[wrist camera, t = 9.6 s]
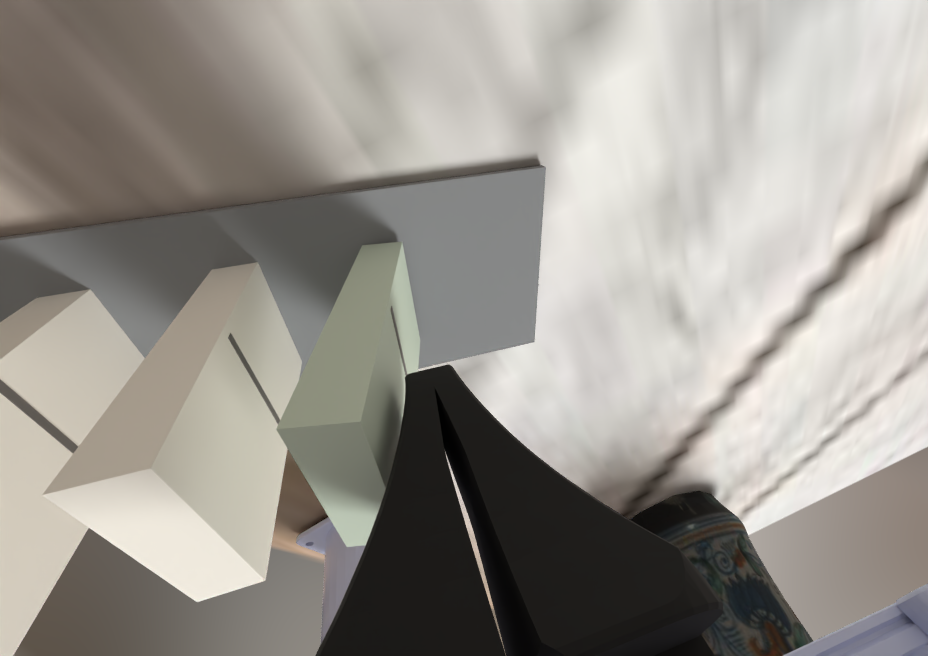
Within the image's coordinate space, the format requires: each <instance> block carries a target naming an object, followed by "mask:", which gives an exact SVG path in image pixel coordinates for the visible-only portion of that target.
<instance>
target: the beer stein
mask: <svg viewBox="0 0 928 656" xmlns="http://www.w3.org/2000/svg"><path fill="white" fill-rule="evenodd" d="M631 521H633V522H634V523H636V524H638V525H639V526H641V527H643V528H645V529H646V530H648V531H650V532H652V533H653V534H655V535H657V536H659V537H661V538H662V539H664V540H666V541H668V542H670V543H671V544H673V545H675V546H677V547H678V548H679V549H680V550H681V551H682V552H683V553H684V555H685V556H686V557H687V558H688V559H689V560H690V561H691V563H692V564H693V565H694V566H695V567H696V568H697V569H698V571H699V572H700V573H701V574H702V575H703V577H704V578H705V579H706V580H707V582H708V583H709V584H710V586H711V587H712V589H713V590H714V591H715V593H716V594H717V595H718V597H719V598H720V599H721V601H722V602H723V614H722V615H721V616H720V617H719V618H718V619H717V620H716V621H715V622H714V623H713V624H712V625H711V626H710V627H709V628H707V629H706V630H705V631H704V632H703V633H702V634H701V635H702V636H703V638H704V639H705V641H706V642H707V644H708V646H709V647H710V649H711V650H712V652H713V653H714V656H783V655H785V654H787V653H790V652H792V651H794V650H796V649H798V648H800V647H802V646H804V645H807V644H809V643H811V642H813V640H812V638H811V637H810V636H809V634H808V632H807V631H806V630H805V628H804V627H803V625H802V624H801V622H800V621H799V620H798V618H797V617H796V615H795V614H794V612H793V611H792V609H791V608H790V607H789V605H788V603H787V602H786V601H785V599H784V598H783V596H782V594H781V592H780V591H779V589H778V588H777V586H776V584H775V583H774V582H773V580H772V578H771V576H770V575H769V573H768V572H767V570H766V568H765V566H764V564H763V563H762V561H761V559H760V558H759V556H758V554H757V553H756V551H755V549H754V547H753V545H752V543H751V541H750V539H749V537H748V534H747V532H746V529H745V527H744V525H743V523H742V522H741V521H740V520H739V518H738V517H737V516H735V515H734V514H733V513H732V512H730V511H729V510H728V509H727V508H725V507H724V506H723V505H722V504H721V503H720V502H719V501H718V500H717V499H715V498H714V497H713V496H712V495H711V494H708V493H704V492H701V491H696V492H691V493H685V494H680V495H675V496H672V497H670V498H668V499H666V500H664V501H662V502H660V503H658V504H656V505H654V506H652V507H650V508H648V509H646V510H644V511H642V512H640V513H639V514H638V515H636V516H635V517H634V518H632V519H631Z"/></svg>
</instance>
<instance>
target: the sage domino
mask: <svg viewBox="0 0 928 656" xmlns="http://www.w3.org/2000/svg"><path fill="white" fill-rule="evenodd" d="M419 351H420V336H419V331H418V325H417V320H416V314H415V309H414V303H413V298H412V292H411V287H410V281H409V276H408V270H407V265H406V259H405V254H404V248H403V243H402V242H392V243H381V244H370V245H362V247H361V249H360V251H359V253H358V255H357V258H356V260H355V262H354V264H353V266H352V268H351V270H350V272H349V275H348V277H347V279H346V281H345V283H344V285H343V287H342V290H341V292H340V294H339V296H338V298H337V300H336V302H335V305H334V307H333V309H332V311H331V313H330V315H329V317H328V319H327V322H326V324H325V326H324V328H323V330H322V332H321V334H320V337H319V339H318V341H317V343H316V345H315V347H314V349H313V352H312V354H311V356H310V358H309V360H308V362H307V364H306V366H305V369H304V371H303V373H302V375H301V377H300V379H299V381H298V384H297V386H296V388H295V390H294V392H293V394H292V396H291V398H290V401H289V403H288V405H287V407H286V409H285V411H284V413H283V416H282V418H281V420H280V422H279V424H278V426H277V428H276V430H277V432H278V433H279V435H280V437H281V438H282V440H283V442H284V443H285V445H286V447H287V448H288V450H289V452H290V453H291V455H292V457H293V458H294V460H295V462H296V463H297V465H298V467H299V468H300V470H301V472H302V473H303V475H304V477H305V478H306V480H307V482H308V483H309V485H310V487H311V488H312V490H313V492H314V493H315V495H316V497H317V498H318V500H319V502H320V503H321V505H322V507H323V508H324V510H325V512H326V513H327V515H328V517H329V518H330V520H331V522H332V523H333V525H334V527H335V528H336V530H337V532H338V533H339V535H340V537H341V538H342V540H343V542H344V543H345V545H346V546H347V547H353V546H363V545H366V543H367V541H368V538H369V536H370V533H371V530H372V527H373V525H374V522H375V519H376V516H377V514H378V511H379V508H380V505H381V502H382V499H383V496H384V493H385V490H386V487H387V483H388V480H389V476H390V473H391V469H392V466H393V461H394V457H395V453H396V449H397V445H398V441H399V436H400V430H401V424H402V418H403V412H404V403H405V377H406V376H407V374H410V373H414V372H418V365H419Z"/></svg>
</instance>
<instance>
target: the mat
mask: <svg viewBox="0 0 928 656" xmlns="http://www.w3.org/2000/svg"><path fill="white" fill-rule="evenodd" d="M545 171H546V167H544V166H542V165H541V166H533V167H525V168H518V169H510V170H503V171H495V172H488V173H480V174H473V175H465V176H458V177H450V178H443V179H435V180H428V181H420V182H413V183H405V184H398V185H390V186H382V187H375V188H367V189H360V190H352V191H345V192H337V193H330V194H322V195H315V196H307V197H300V198H292V199H285V200H277V201H270V202H262V203H254V204H247V205H239V206H232V207H224V208H217V209H209V210H202V211H194V212H187V213H179V214H172V215H164V216H157V217H149V218H142V219H134V220H126V221H119V222H111V223H104V224H96V225H89V226H81V227H74V228H66V229H59V230H51V231H44V232H36V233H29V234H21V235H14V236H6V237H0V322H1V321H3V320H4V319H6V318H7V317H9V316H10V315H12V314H13V313H15V312H16V311H18V310H19V309H21V308H22V307H24V306H25V305H27V304H28V303H30V302H31V301H33V300H34V299H36V298H39V297H45V296H52V295H58V294H64V293H70V292H76V291H83V290H89V289H91V291H92V292H93V293H94V294H95V296H96V297H97V298H98V299H99V301H100V302H101V303H102V305H103V306H104V307H105V308H106V310H107V311H108V312H109V313H110V315H111V316H112V317H113V319H114V320H115V321H116V322H117V324H118V325H119V326H120V327H121V329H122V330H123V331H124V332H125V334H126V335H127V336H128V338H129V339H130V340H131V341H132V343H133V344H134V345H135V346H136V348H137V349H138V350H139V352H140V353H141V354H142V355H143V357H144V358H146V356H147V355H148V354H149V352H150V351H151V350H152V348H153V347H154V346H155V344H156V343H157V342H158V340H159V339H160V338H161V336H162V335H163V334H164V332H165V331H166V330H167V328H168V327H169V326H170V324H171V323H172V322H173V320H174V319H175V318H176V316H177V315H178V314H179V312H180V311H181V310H182V308H183V307H184V306H185V304H186V303H187V302H188V300H189V299H190V298H191V296H192V295H193V294H194V292H195V291H196V290H197V288H198V287H199V286H200V284H201V283H202V282H203V280H204V279H205V278H206V276H207V275H208V274H209V272H210V271H211V270H212V269H219V268H225V267H231V266H237V265H243V264H250V263H256V262H258V264H259V266H260V268H261V271H262V273H263V275H264V277H265V280H266V282H267V284H268V286H269V289H270V291H271V293H272V295H273V298H274V300H275V302H276V304H277V307H278V309H279V311H280V313H281V316H282V318H283V320H284V322H285V325H286V327H287V329H288V331H289V333H290V336H291V338H292V340H293V342H294V345H295V347H296V349H297V351H298V354H299V356H300V358H301V360H302V365H301V371H300V377H301V375H302V373H303V371H304V369H305V366H306V364H307V362H308V360H309V358H310V356H311V354H312V352H313V349H314V347H315V345H316V343H317V341H318V339H319V337H320V334H321V332H322V330H323V328H324V326H325V324H326V322H327V319H328V317H329V315H330V313H331V311H332V309H333V307H334V305H335V302H336V300H337V298H338V296H339V294H340V292H341V290H342V287H343V285H344V283H345V281H346V279H347V277H348V275H349V272H350V270H351V268H352V266H353V264H354V262H355V260H356V258H357V255H358V253H359V251H360V249H361V247H362V245H370V244H381V243H392V242H402V243H403V248H404V254H405V259H406V265H407V270H408V276H409V281H410V287H411V292H412V298H413V303H414V309H415V314H416V320H417V325H418V331H419V336H420V351H419V365H418V369H419V368H423V367H428V366H432V365H436V364H441V363H445V362H449V361H454V360H458V359H462V358H467V357H471V356H475V355H480V354H484V353H488V352H493V351H497V350H501V349H506V348H510V347H515V346H519V345H523V344H528V343H532V342H534V339H535V324H536V308H537V293H538V278H539V263H540V247H541V232H542V217H543V202H544V186H545ZM300 377H299V379H300Z"/></svg>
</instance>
